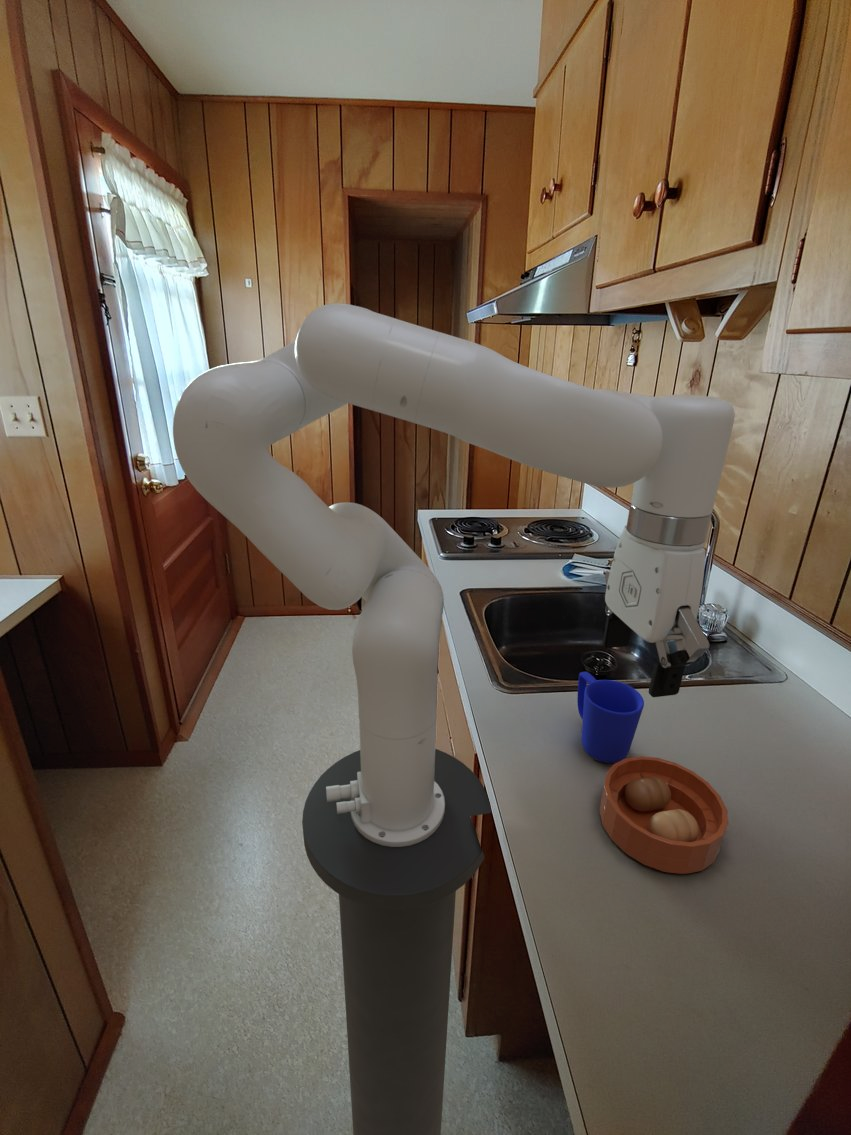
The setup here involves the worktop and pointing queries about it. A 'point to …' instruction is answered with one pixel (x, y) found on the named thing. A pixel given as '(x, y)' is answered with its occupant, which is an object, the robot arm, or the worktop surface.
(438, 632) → the robot arm
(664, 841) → the bowl
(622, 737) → the mug
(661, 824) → the egg light
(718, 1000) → the worktop surface
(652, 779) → the egg dark
